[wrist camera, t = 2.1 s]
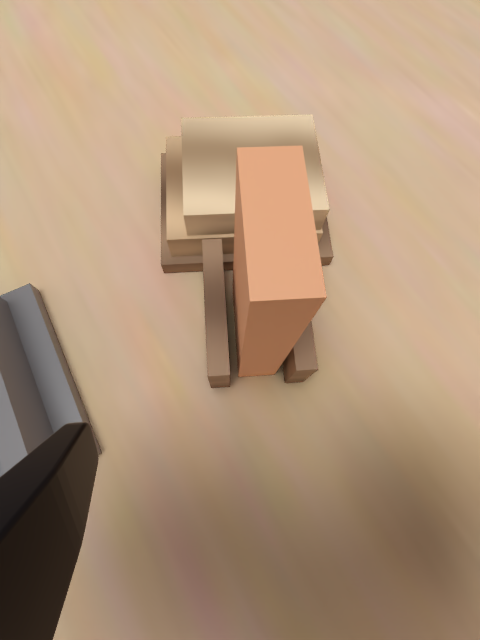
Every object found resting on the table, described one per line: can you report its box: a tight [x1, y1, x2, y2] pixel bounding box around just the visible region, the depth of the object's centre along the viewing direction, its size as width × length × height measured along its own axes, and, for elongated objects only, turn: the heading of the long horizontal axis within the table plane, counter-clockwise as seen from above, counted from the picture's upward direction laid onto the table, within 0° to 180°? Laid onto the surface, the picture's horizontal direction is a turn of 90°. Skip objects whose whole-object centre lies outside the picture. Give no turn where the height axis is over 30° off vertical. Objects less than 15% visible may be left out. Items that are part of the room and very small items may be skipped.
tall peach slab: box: [233, 146, 327, 377], centre depth 15 cm, size 5×2×11 cm, turn 4°
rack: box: [161, 114, 333, 388], centre depth 20 cm, size 15×10×5 cm, turn 4°
